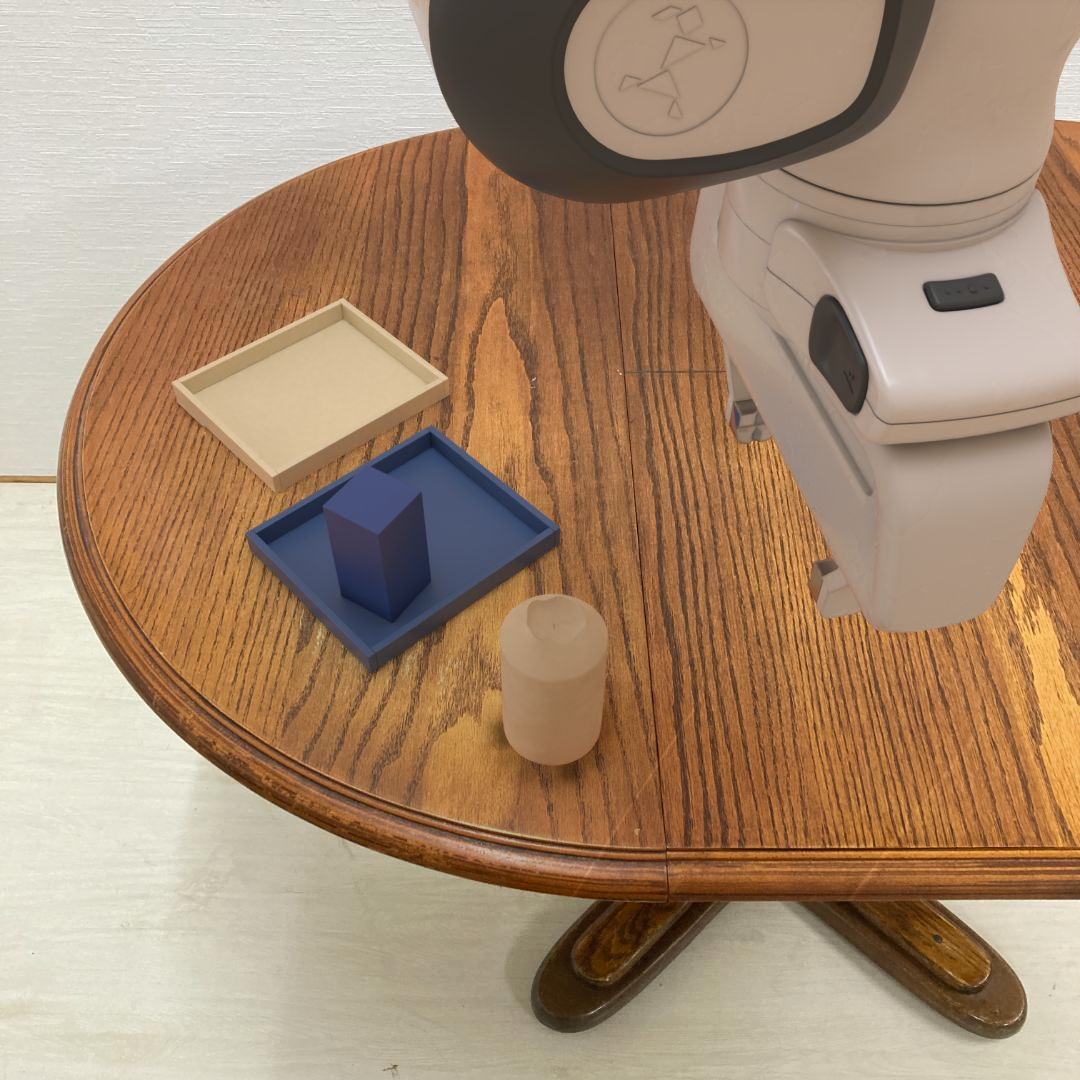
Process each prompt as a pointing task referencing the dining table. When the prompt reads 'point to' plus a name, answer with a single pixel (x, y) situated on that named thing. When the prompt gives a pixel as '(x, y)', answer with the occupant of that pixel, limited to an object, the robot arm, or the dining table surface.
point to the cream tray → (310, 392)
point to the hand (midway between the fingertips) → (788, 511)
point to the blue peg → (379, 542)
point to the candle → (553, 677)
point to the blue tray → (452, 537)
